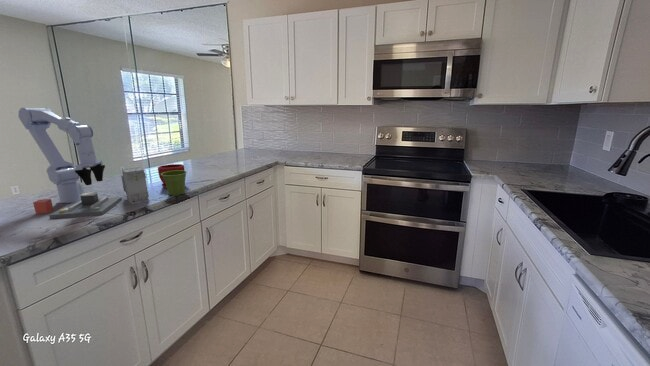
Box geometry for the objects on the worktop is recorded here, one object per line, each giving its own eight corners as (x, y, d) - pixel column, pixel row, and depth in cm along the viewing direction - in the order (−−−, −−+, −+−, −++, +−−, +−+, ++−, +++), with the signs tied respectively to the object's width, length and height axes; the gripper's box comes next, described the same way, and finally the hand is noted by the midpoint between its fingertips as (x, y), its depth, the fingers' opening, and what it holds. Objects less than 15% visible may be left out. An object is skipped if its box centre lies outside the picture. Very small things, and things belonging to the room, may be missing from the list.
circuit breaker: (141, 194, 147) (137, 165, 143) (149, 200, 137) (144, 169, 134) (124, 197, 142) (119, 167, 138) (131, 203, 132) (125, 172, 129)
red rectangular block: (42, 210, 123) (39, 199, 122) (53, 209, 124) (50, 198, 123) (36, 213, 119) (33, 202, 118) (47, 213, 120) (44, 201, 119)
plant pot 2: (191, 185, 165) (189, 164, 162) (170, 190, 154) (167, 168, 151) (176, 182, 171) (174, 162, 168) (155, 187, 160) (152, 166, 157)
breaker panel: (77, 203, 133) (76, 197, 132) (121, 200, 137) (120, 194, 137) (49, 218, 114) (48, 212, 113) (102, 214, 119) (101, 208, 118)
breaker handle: (85, 202, 128) (83, 193, 127) (98, 202, 129) (96, 192, 128) (82, 204, 125) (80, 195, 124) (95, 204, 126) (93, 194, 125)
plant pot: (160, 193, 148) (157, 172, 145) (184, 189, 156) (182, 169, 153) (168, 198, 140) (164, 176, 137) (192, 194, 148) (190, 172, 145)
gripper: (85, 154, 120) (93, 185, 123) (106, 150, 134) (113, 178, 137) (66, 155, 119) (75, 187, 122) (90, 151, 133) (97, 180, 136)
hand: (94, 183), depth 130 cm, fingers open, 7 cm apart
